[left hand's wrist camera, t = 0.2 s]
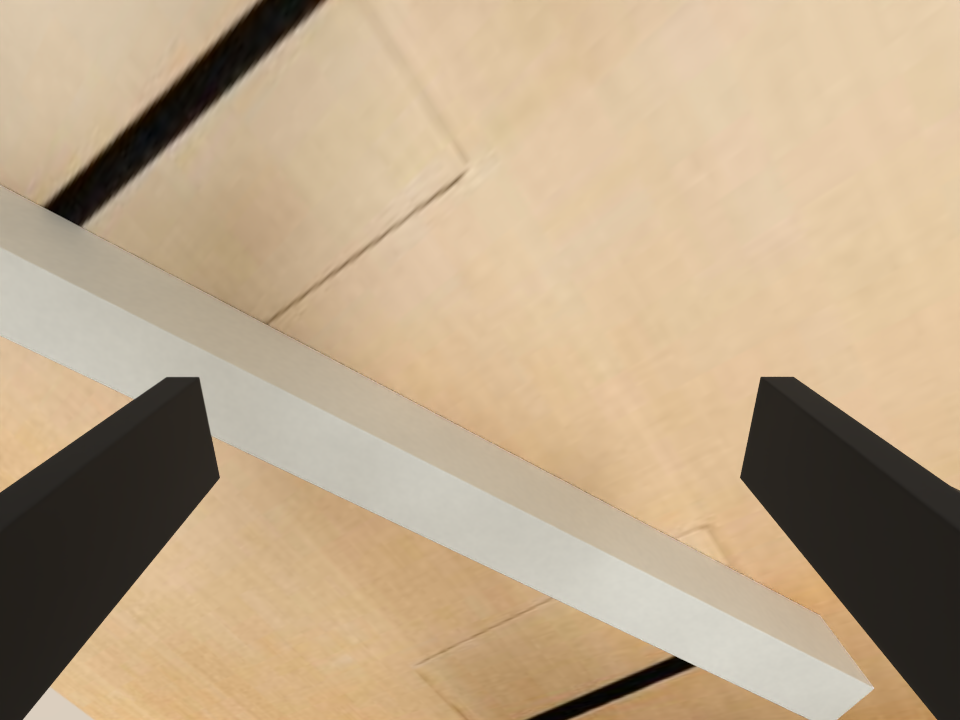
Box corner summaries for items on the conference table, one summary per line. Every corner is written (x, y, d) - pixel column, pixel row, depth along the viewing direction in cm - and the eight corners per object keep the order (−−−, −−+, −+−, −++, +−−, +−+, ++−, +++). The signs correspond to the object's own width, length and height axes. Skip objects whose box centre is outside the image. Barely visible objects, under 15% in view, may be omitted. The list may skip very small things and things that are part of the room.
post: (-59, 233, 38) (-181, 250, 31) (-42, 161, 37) (-168, 162, 30) (780, 652, 53) (826, 728, 46) (820, 615, 51) (875, 688, 44)
